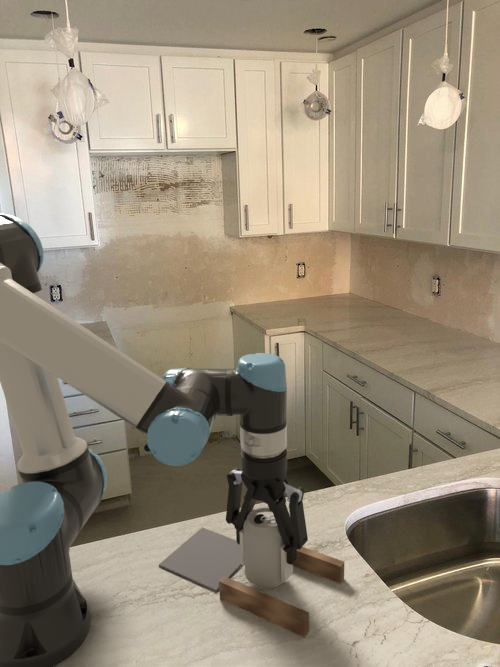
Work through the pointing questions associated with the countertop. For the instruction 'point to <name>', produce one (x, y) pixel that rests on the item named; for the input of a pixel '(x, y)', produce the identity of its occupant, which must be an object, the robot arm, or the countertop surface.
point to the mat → (205, 558)
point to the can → (262, 549)
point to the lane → (279, 609)
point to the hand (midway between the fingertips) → (266, 568)
